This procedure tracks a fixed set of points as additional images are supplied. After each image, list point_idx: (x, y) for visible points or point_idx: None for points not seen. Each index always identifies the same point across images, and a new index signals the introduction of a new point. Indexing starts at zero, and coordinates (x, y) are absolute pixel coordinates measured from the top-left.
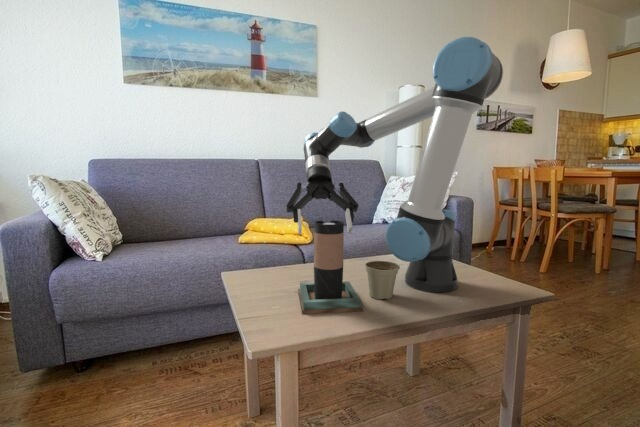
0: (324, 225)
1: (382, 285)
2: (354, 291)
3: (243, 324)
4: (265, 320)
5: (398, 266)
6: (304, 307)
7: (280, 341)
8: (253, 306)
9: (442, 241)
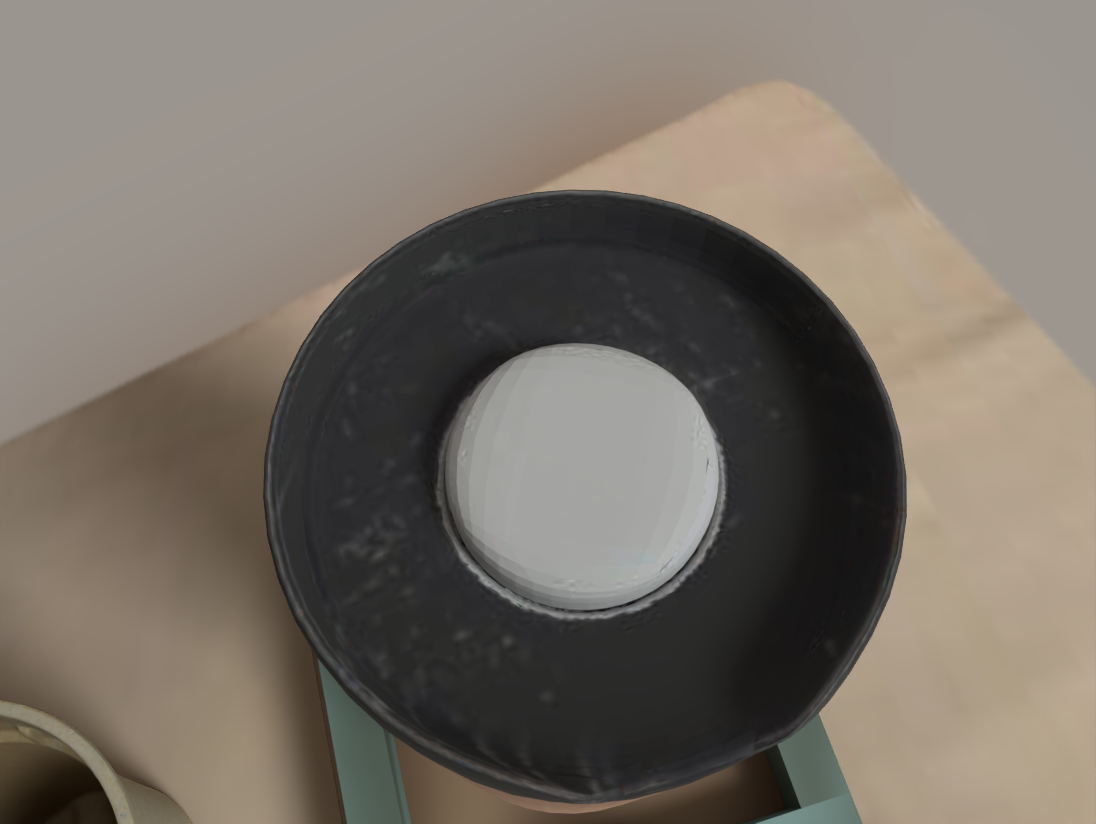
0: (627, 200)
1: (54, 761)
2: (334, 705)
3: (964, 254)
4: (873, 312)
5: None
6: None
7: (707, 143)
8: (1053, 481)
9: None
